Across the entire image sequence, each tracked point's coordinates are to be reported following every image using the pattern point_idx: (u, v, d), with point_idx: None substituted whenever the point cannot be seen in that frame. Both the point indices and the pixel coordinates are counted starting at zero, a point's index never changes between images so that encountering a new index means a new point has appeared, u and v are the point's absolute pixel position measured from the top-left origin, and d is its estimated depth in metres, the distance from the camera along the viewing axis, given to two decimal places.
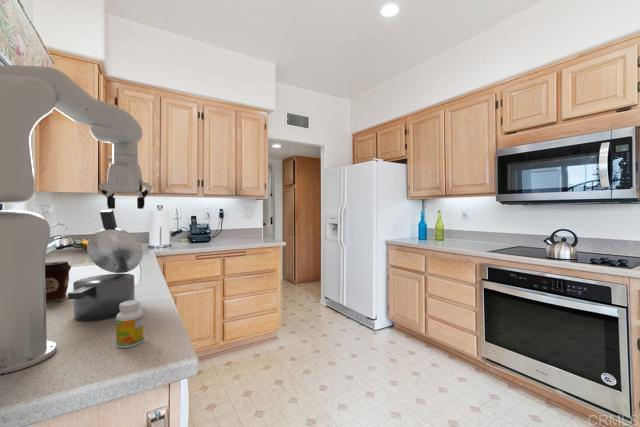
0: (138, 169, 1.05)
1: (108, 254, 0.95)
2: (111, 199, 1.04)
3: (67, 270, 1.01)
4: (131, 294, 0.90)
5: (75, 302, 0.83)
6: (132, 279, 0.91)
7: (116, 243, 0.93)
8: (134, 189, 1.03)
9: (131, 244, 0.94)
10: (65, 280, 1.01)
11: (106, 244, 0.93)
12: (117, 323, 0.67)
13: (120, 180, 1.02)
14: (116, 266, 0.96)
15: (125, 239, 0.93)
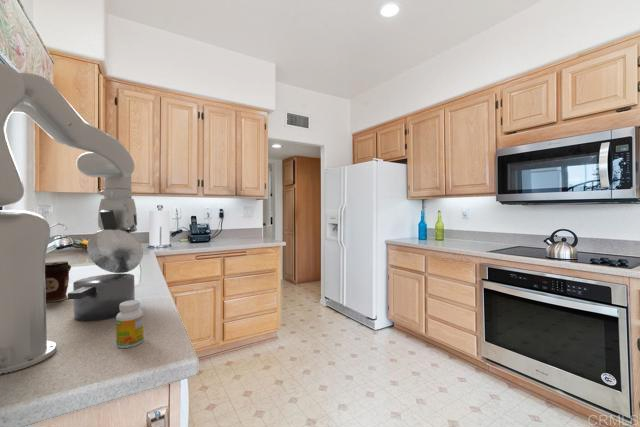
0: (132, 203, 0.96)
1: (108, 254, 0.95)
2: None
3: (67, 270, 1.01)
4: (131, 294, 0.90)
5: (75, 302, 0.83)
6: (132, 279, 0.91)
7: (116, 243, 0.93)
8: (127, 226, 0.95)
9: (131, 244, 0.94)
10: (65, 280, 1.01)
11: (106, 244, 0.93)
12: (117, 323, 0.67)
13: None
14: (116, 266, 0.96)
15: (125, 239, 0.93)
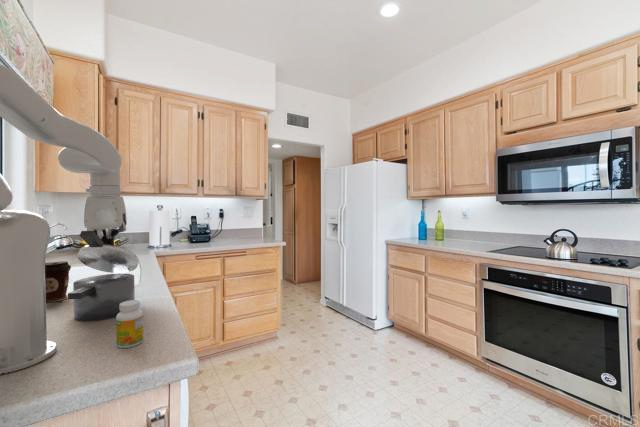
0: (120, 201, 0.90)
1: (102, 262, 0.92)
2: None
3: (67, 270, 1.01)
4: (131, 294, 0.90)
5: (75, 302, 0.83)
6: (132, 279, 0.91)
7: (108, 255, 0.89)
8: (116, 225, 0.88)
9: (124, 256, 0.90)
10: (65, 280, 1.01)
11: (98, 256, 0.89)
12: (117, 323, 0.67)
13: (99, 215, 0.87)
14: (115, 269, 0.95)
15: (116, 253, 0.88)
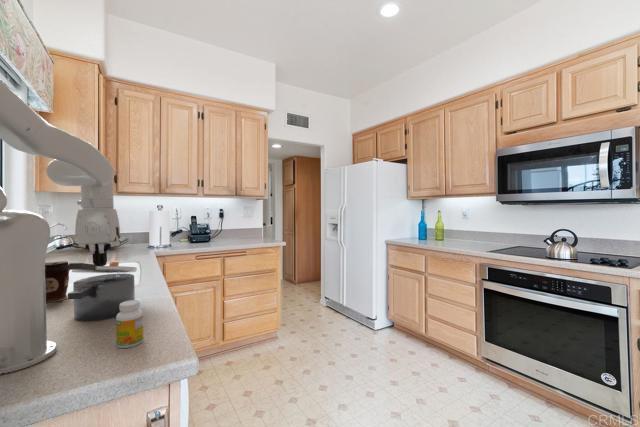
0: (113, 214, 0.86)
1: (99, 272, 0.90)
2: None
3: (67, 270, 1.01)
4: (131, 294, 0.90)
5: (75, 302, 0.83)
6: (132, 279, 0.91)
7: (103, 271, 0.87)
8: (108, 240, 0.84)
9: None
10: (65, 280, 1.01)
11: (93, 271, 0.87)
12: (117, 323, 0.67)
13: (91, 230, 0.83)
14: (114, 272, 0.95)
15: (111, 270, 0.86)
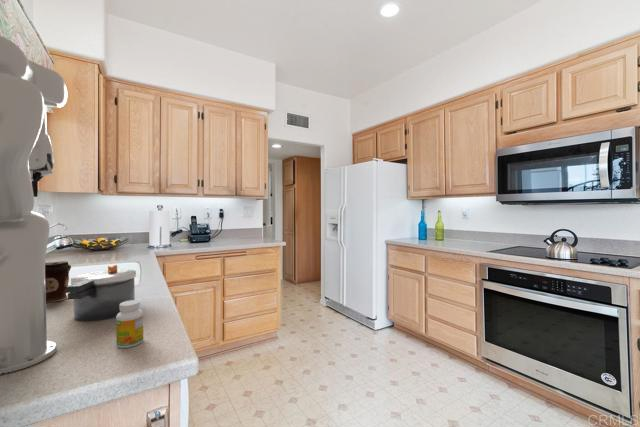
0: (44, 139, 0.78)
1: None
2: None
3: (67, 270, 1.01)
4: (131, 294, 0.90)
5: (75, 302, 0.83)
6: (132, 279, 0.91)
7: None
8: (37, 165, 0.77)
9: None
10: (65, 280, 1.01)
11: None
12: (117, 323, 0.67)
13: None
14: None
15: None
